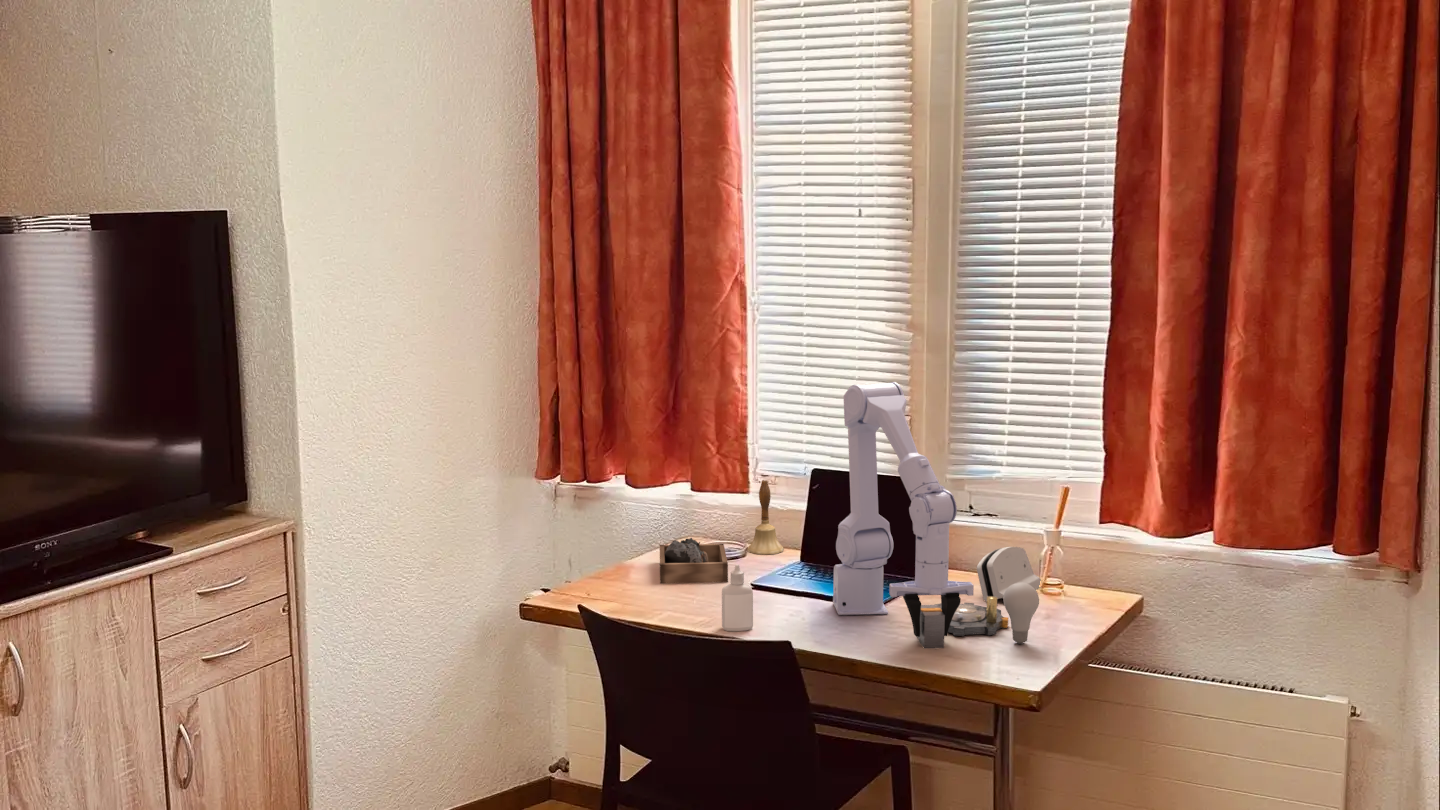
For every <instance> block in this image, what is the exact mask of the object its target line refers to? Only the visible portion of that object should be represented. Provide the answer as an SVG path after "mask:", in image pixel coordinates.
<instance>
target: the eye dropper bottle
mask: <svg viewBox="0 0 1440 810" xmlns="http://www.w3.org/2000/svg"><path fill="white" fill-rule="evenodd" d="M744 582H745V572H744V571H742V570H741V568H740V564H738V563H737V564H735V565H734V569H733V570H732V571H731V572H730V583H729V584H727V585H724V587H722V589H721V627H722V629H723V630H724V631H727V632H744V631H745V632H747V631H750V630H752V629H753V627H754V595H753V594H754V591H753V589H752V586H751V585H749V584H746V583H744Z"/></svg>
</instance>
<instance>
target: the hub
mask: <svg viewBox="0 0 1440 810" xmlns="http://www.w3.org/2000/svg"><path fill="white" fill-rule="evenodd" d="M976 605H977V604H974V605H971V604H964V603H960V605H959V606H958V608H957V610H956V611H955V613H954V615H953V618H952V620H951V621H956V622H960V623H968V622H982V621H984V620H985V609H984V608H982V607H983V606H982V607H980V606H981V605H978V606H976Z"/></svg>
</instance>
